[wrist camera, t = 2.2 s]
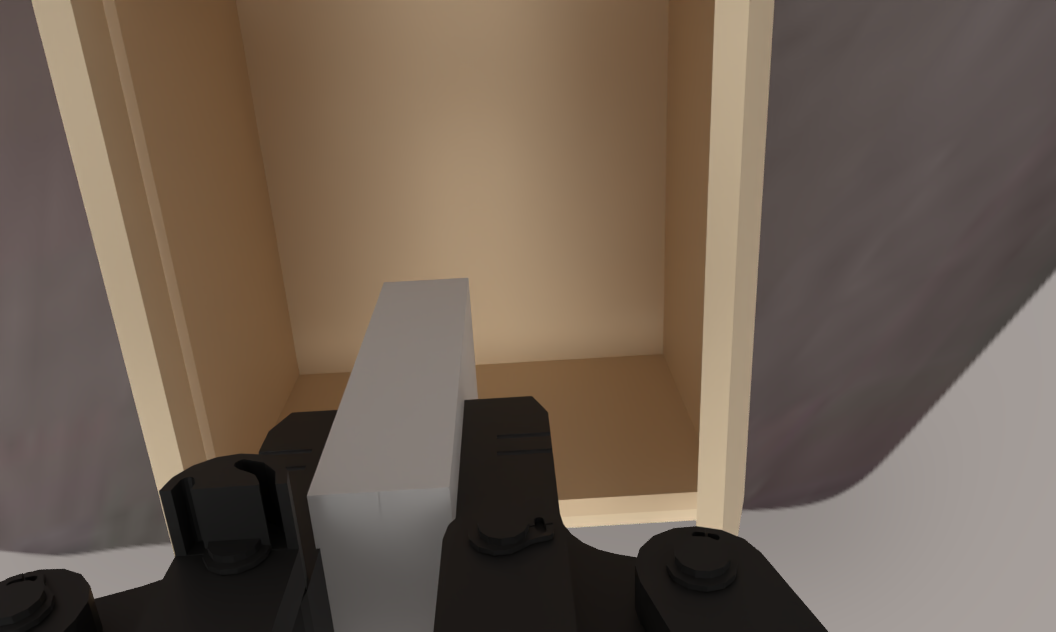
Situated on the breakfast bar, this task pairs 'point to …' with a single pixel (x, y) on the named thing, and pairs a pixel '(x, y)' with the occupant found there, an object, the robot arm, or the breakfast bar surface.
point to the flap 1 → (121, 228)
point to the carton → (439, 210)
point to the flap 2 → (732, 253)
